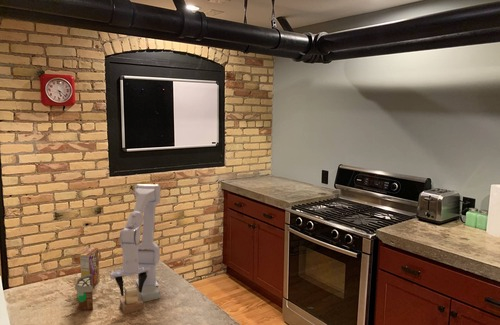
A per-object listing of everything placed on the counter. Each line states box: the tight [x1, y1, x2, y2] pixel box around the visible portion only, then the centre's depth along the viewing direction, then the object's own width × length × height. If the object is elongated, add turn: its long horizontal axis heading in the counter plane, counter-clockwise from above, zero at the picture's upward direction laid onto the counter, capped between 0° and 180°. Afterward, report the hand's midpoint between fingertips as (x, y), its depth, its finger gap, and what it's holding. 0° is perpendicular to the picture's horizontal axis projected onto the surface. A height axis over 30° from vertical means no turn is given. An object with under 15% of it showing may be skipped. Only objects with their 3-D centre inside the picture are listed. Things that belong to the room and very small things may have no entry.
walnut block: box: [119, 295, 144, 314], centre depth 144 cm, size 7×7×3 cm
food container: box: [74, 274, 94, 312], centre depth 144 cm, size 12×6×10 cm, turn 23°
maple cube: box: [124, 285, 139, 304], centre depth 144 cm, size 4×4×5 cm
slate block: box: [137, 285, 161, 303], centre depth 153 cm, size 7×7×3 cm
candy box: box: [79, 247, 101, 289], centre depth 162 cm, size 9×4×15 cm, turn 177°
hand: (131, 293), depth 144 cm, fingers open, 6 cm apart
